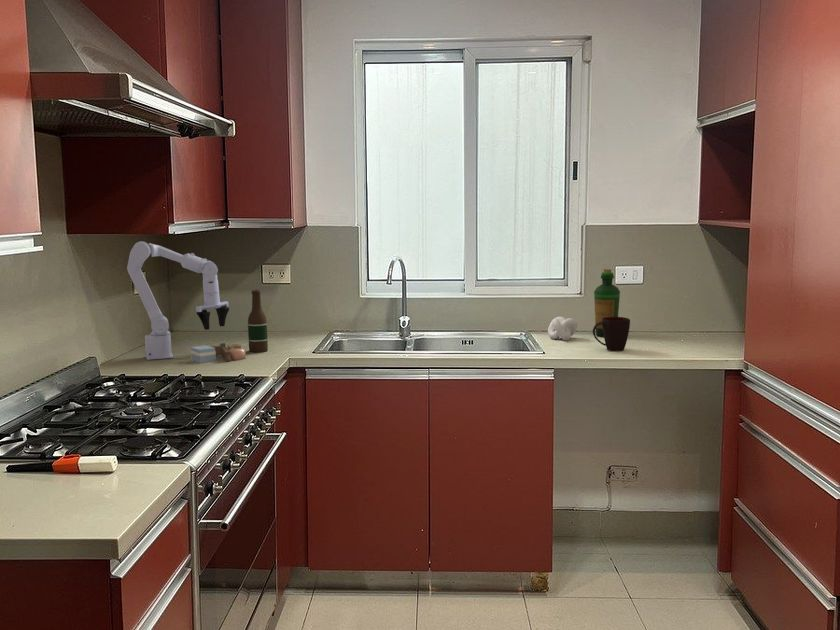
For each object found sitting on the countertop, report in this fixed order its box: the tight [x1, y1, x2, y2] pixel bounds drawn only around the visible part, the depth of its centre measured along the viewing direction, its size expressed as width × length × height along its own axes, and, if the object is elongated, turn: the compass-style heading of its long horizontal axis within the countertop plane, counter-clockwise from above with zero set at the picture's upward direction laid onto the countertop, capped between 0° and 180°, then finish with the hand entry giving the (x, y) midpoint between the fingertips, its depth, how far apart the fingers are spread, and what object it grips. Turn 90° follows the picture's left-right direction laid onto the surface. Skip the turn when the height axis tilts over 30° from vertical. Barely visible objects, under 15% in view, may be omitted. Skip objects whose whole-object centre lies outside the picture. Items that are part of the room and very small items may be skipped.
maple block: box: [226, 343, 242, 350], centre depth 307 cm, size 4×4×4 cm
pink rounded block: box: [229, 347, 246, 361], centre depth 300 cm, size 6×6×4 cm
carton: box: [190, 344, 217, 364], centre depth 298 cm, size 6×8×5 cm
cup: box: [592, 316, 631, 352], centre depth 307 cm, size 10×14×12 cm
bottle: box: [593, 268, 621, 338], centre depth 337 cm, size 11×11×28 cm
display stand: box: [209, 342, 232, 363], centre depth 300 cm, size 11×16×4 cm
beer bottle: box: [247, 289, 269, 354], centre depth 314 cm, size 8×8×24 cm
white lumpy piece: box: [547, 316, 578, 342], centre depth 333 cm, size 11×12×9 cm
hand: (214, 327), depth 310 cm, fingers open, 7 cm apart
